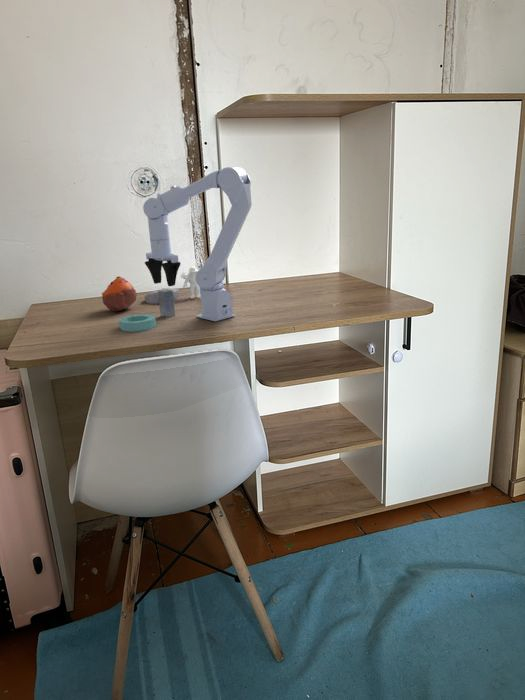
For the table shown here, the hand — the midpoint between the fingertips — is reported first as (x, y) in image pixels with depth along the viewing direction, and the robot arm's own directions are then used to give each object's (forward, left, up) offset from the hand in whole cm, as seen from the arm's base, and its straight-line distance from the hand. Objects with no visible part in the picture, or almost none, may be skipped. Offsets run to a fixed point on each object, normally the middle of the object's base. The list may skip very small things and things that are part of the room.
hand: (164, 284), depth 166 cm
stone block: (+22, -12, -10) cm, 28 cm away
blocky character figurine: (+15, -22, -10) cm, 28 cm away
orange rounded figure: (+20, +5, -10) cm, 23 cm away
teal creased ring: (-4, +13, -10) cm, 17 cm away
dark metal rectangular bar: (0, 0, -10) cm, 10 cm away
